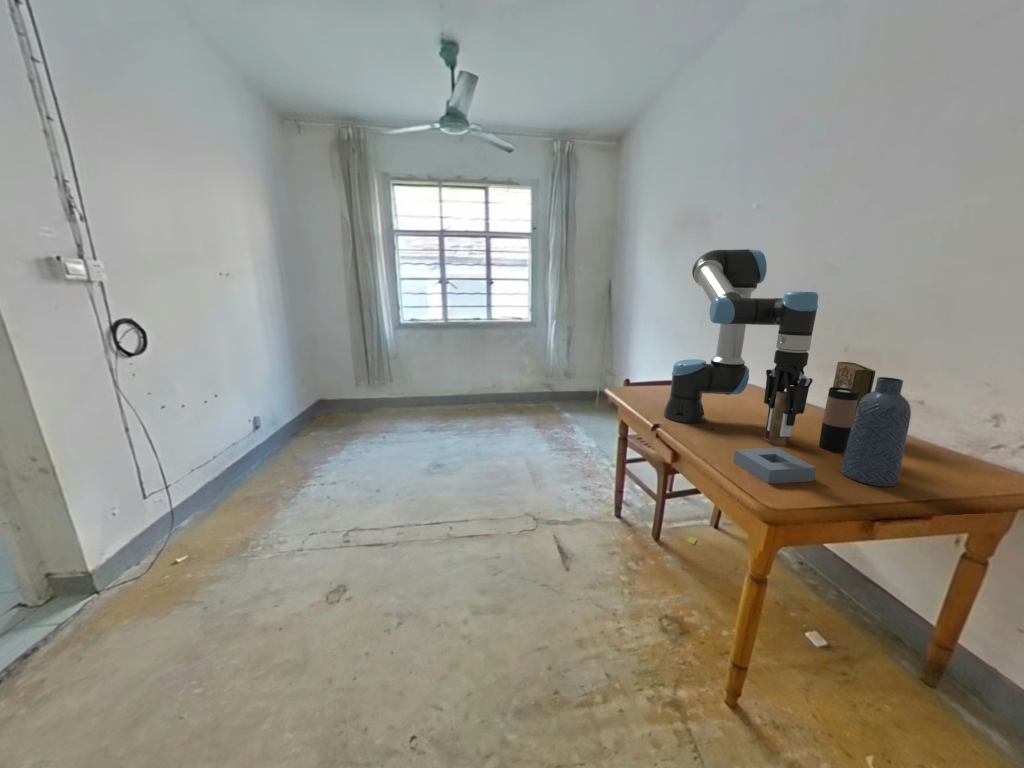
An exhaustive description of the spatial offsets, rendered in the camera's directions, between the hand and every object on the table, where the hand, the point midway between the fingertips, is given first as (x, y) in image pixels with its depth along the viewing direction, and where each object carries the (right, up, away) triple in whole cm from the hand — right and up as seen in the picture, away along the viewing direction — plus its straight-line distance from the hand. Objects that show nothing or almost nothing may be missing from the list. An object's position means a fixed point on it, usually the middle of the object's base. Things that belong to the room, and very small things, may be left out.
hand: (778, 432), depth 115 cm
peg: (0, -3, +1) cm, 3 cm away
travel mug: (+31, -8, +20) cm, 38 cm away
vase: (+25, -13, 0) cm, 28 cm away
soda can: (+17, -6, +27) cm, 32 cm away
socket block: (0, -11, +3) cm, 12 cm away
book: (+46, -4, +35) cm, 58 cm away
